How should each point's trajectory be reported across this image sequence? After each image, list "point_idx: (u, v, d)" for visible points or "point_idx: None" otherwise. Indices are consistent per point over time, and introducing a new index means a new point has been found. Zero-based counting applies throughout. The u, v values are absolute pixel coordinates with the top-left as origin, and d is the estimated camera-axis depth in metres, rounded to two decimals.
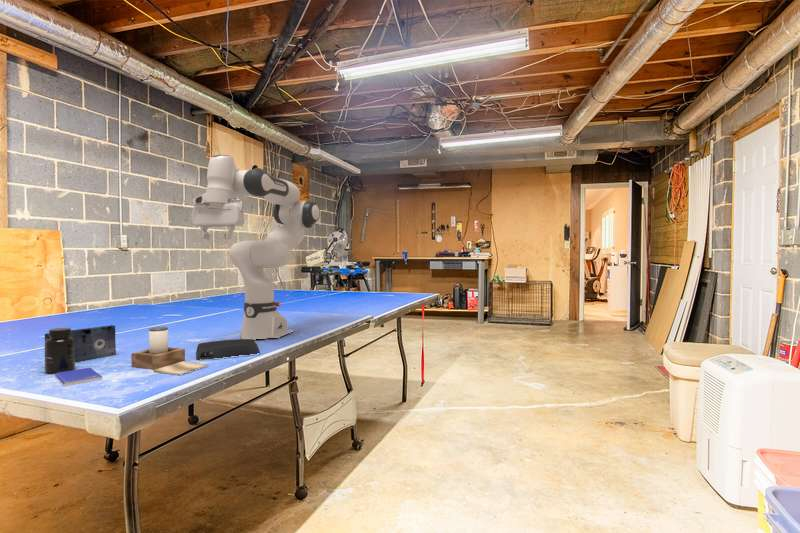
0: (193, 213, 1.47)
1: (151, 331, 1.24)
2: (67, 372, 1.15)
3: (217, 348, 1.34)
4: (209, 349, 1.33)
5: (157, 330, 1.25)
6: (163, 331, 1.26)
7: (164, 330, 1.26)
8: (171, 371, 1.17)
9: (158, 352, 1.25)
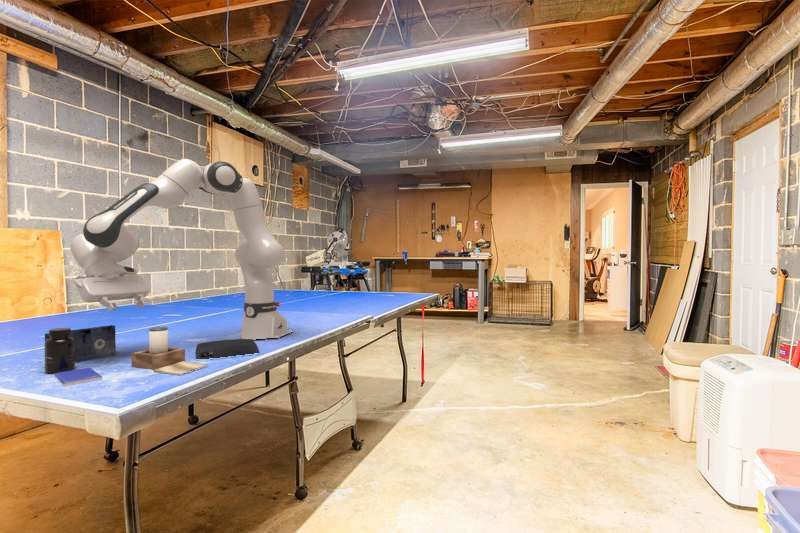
0: None
1: (151, 331, 1.24)
2: (67, 372, 1.14)
3: (217, 348, 1.35)
4: (209, 349, 1.34)
5: (157, 330, 1.25)
6: (163, 331, 1.26)
7: (164, 330, 1.26)
8: (171, 371, 1.17)
9: (158, 352, 1.25)
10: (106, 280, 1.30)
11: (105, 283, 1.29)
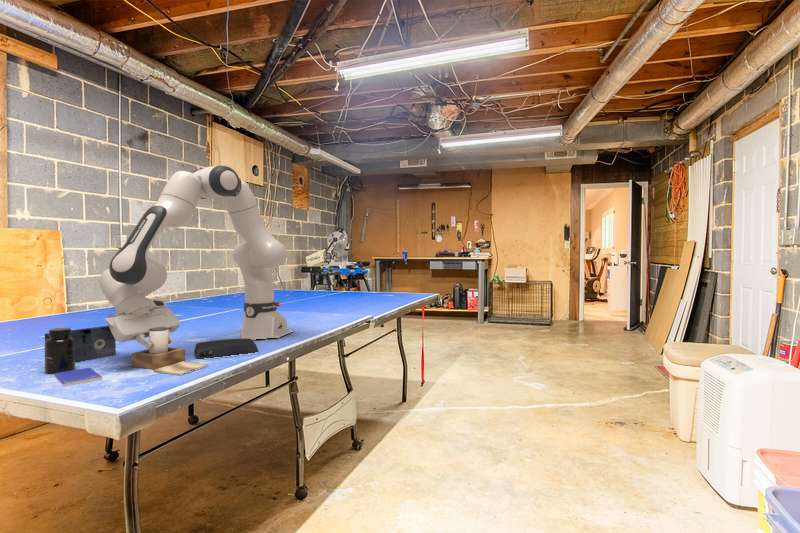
0: None
1: (151, 331, 1.24)
2: (67, 372, 1.14)
3: (216, 347, 1.35)
4: (208, 348, 1.34)
5: (157, 330, 1.25)
6: (163, 331, 1.26)
7: (164, 330, 1.26)
8: (171, 371, 1.17)
9: (158, 352, 1.25)
10: (137, 317, 1.26)
11: (136, 320, 1.25)
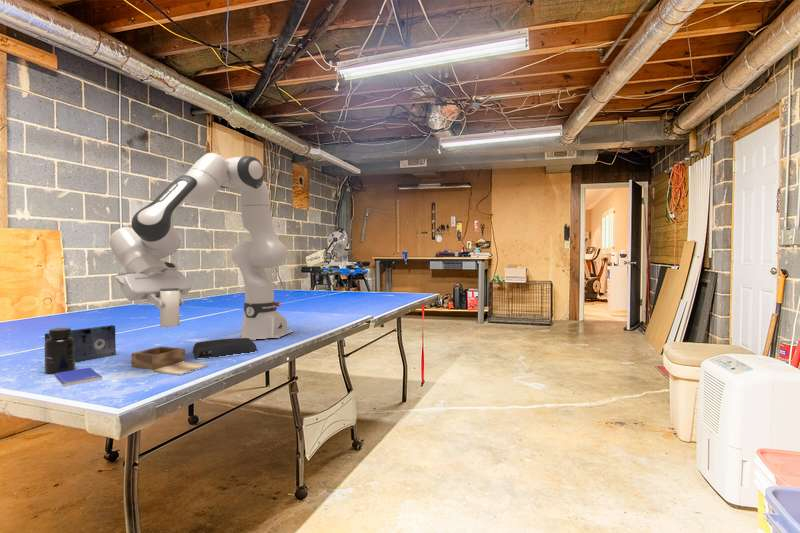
0: None
1: (162, 291, 1.21)
2: (67, 372, 1.14)
3: (216, 347, 1.36)
4: (208, 348, 1.35)
5: (168, 290, 1.21)
6: (174, 291, 1.22)
7: (175, 290, 1.22)
8: (171, 371, 1.17)
9: (169, 312, 1.21)
10: (148, 276, 1.23)
11: (147, 279, 1.22)
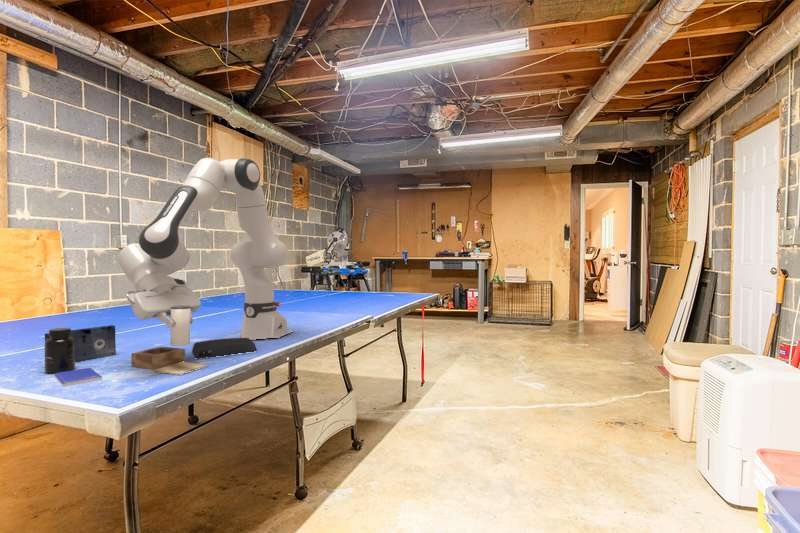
0: None
1: (173, 309, 1.19)
2: (67, 372, 1.14)
3: (215, 347, 1.36)
4: (207, 348, 1.35)
5: (179, 308, 1.19)
6: (185, 309, 1.20)
7: (186, 308, 1.20)
8: (171, 371, 1.17)
9: (180, 331, 1.19)
10: (158, 294, 1.20)
11: (158, 297, 1.20)
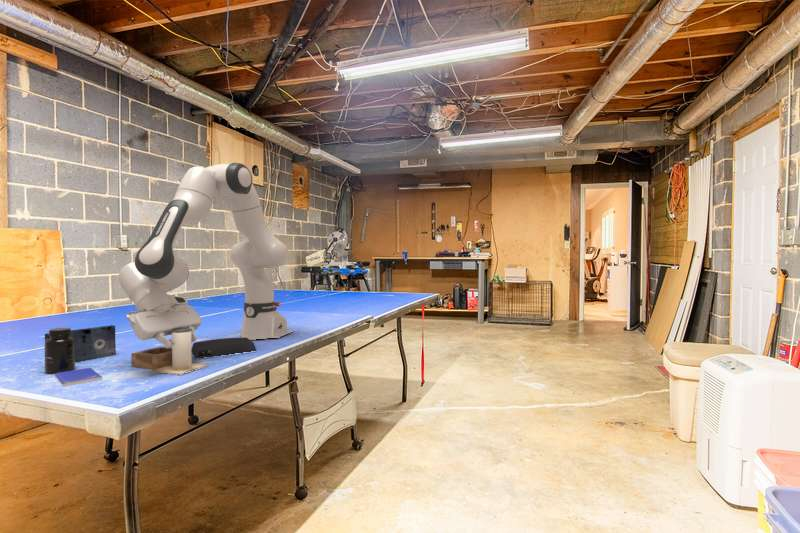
0: None
1: (174, 332, 1.19)
2: (67, 372, 1.14)
3: (215, 346, 1.37)
4: (207, 347, 1.36)
5: (181, 331, 1.19)
6: (187, 332, 1.20)
7: (188, 331, 1.21)
8: (171, 371, 1.17)
9: (182, 354, 1.20)
10: (159, 314, 1.21)
11: (158, 317, 1.20)
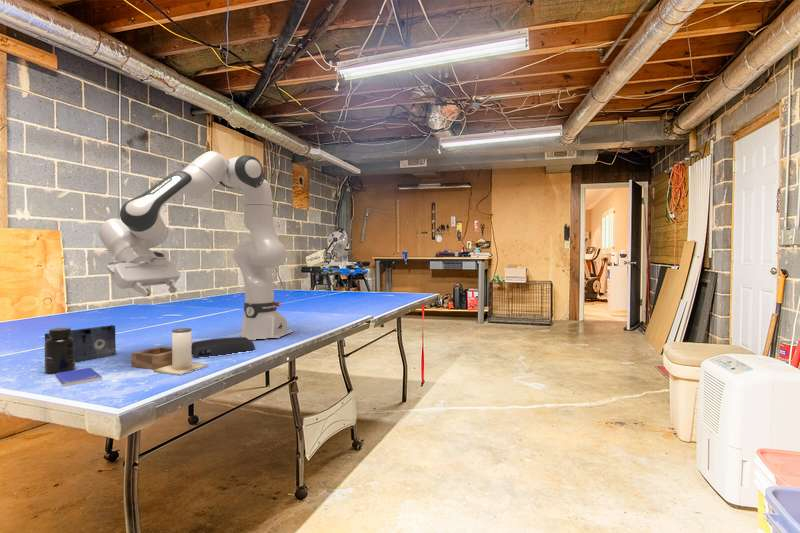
0: None
1: (174, 332, 1.19)
2: (67, 372, 1.14)
3: (214, 346, 1.37)
4: (207, 347, 1.36)
5: (181, 331, 1.19)
6: (187, 332, 1.20)
7: (188, 331, 1.21)
8: (171, 371, 1.17)
9: (182, 354, 1.20)
10: (138, 265, 1.27)
11: (137, 268, 1.26)
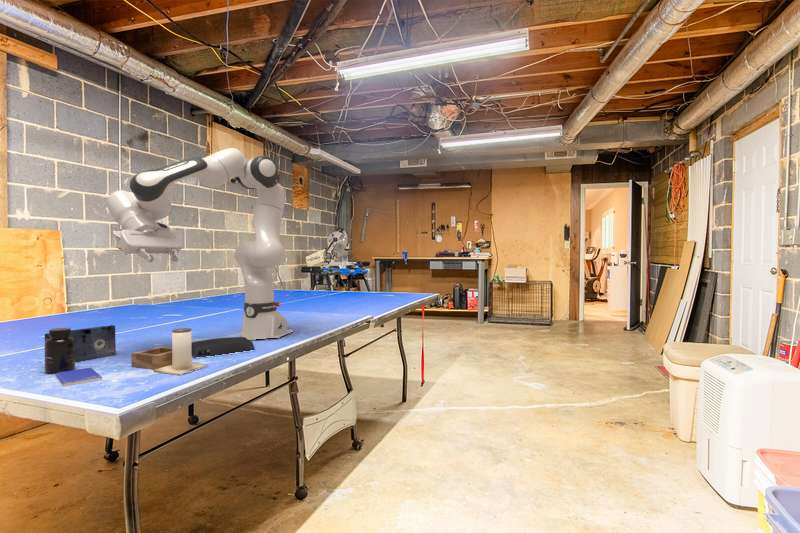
0: None
1: (174, 332, 1.19)
2: (67, 372, 1.14)
3: (214, 346, 1.38)
4: (206, 347, 1.37)
5: (181, 331, 1.19)
6: (187, 332, 1.20)
7: (188, 331, 1.21)
8: (171, 371, 1.17)
9: (182, 354, 1.20)
10: (142, 234, 1.34)
11: (142, 236, 1.33)
